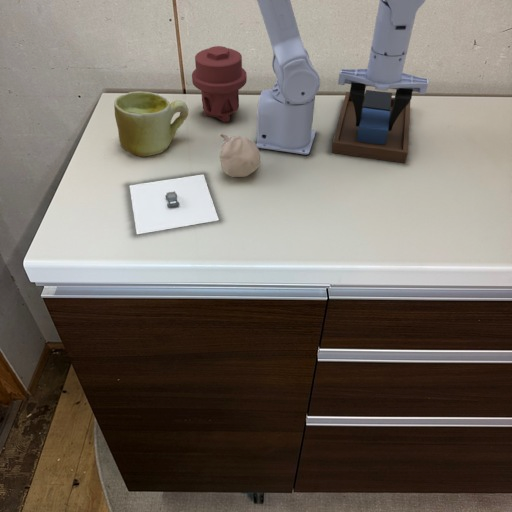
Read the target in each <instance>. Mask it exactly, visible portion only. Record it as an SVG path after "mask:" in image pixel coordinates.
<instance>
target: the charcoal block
mask: <svg viewBox="0 0 512 512" xmlns="http://www.w3.org/2000/svg"><path fill="white" fill-rule="evenodd" d="M391 98H393V93H392V92H386V91H381V90H369V89H365V98H364V103H363V108H368V109H376V110H384V111H390V107H391ZM363 108H362V109H363Z"/></svg>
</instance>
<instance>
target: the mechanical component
mask: <svg viewBox="0 0 512 512" xmlns="http://www.w3.org/2000/svg"><path fill="white" fill-rule="evenodd" d="M194 61H195V62H194V63H195V69H194V70H193V71H192V73H191V80H192V81H191V82H192V84H193V86H194V87H195V88H196V89H198V90H199V91H201V105H202V110H203V115H205V116H207V117H212V118H216V119H218V120H220V121H221V122H223V123H228V122H230V120H231V117H230V115H233V114H234V113H236V112H237V111H238V110H239V108H240V96H239V93H240V91H239V90H241V89H242V88H243V87H245V86H246V84H247V80H248V79H247V75H248V74H247V71H246V69H244V68H243V57H242V54H241V52H239V51H238V50H237V49H236V50H235V49H233V48H229V47H226V46H222V45H215V46H211V47H209V48H205V49H203V50H200V51H199V52H196V54H195V56H194Z"/></svg>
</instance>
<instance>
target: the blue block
mask: <svg viewBox="0 0 512 512" xmlns="http://www.w3.org/2000/svg"><path fill="white" fill-rule="evenodd" d="M389 118H390V111H384V110H376V109H368V108H363V109H362V115H361V121H360V125H359V130H358V135H357V141H358V142H365V143H373V144H380V145H385V142H386V138H387V133H388V128H389Z"/></svg>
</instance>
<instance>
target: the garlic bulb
mask: <svg viewBox="0 0 512 512" xmlns="http://www.w3.org/2000/svg"><path fill="white" fill-rule="evenodd" d="M219 137H221V138H222V139H223V140H222V142H223V143H222V145H221V148H220V153H219V161H220V168H221V170H222V171H223V172H224V173H225V174H226V175H227V176H229V177H232V178H239V177H243V178H245V177H248V176H250V175H251V174H252V173H254V172H256V171H257V169H258V168H259V166H260V164H261V152H260V148H258V147H257V146H256V144H257V143H255V142H254V140H252V139H250V138H247V137H242V136H239V135H236V136H231V137H228V134H227V135H226V134H223V133H221V134H220V135H219Z"/></svg>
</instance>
